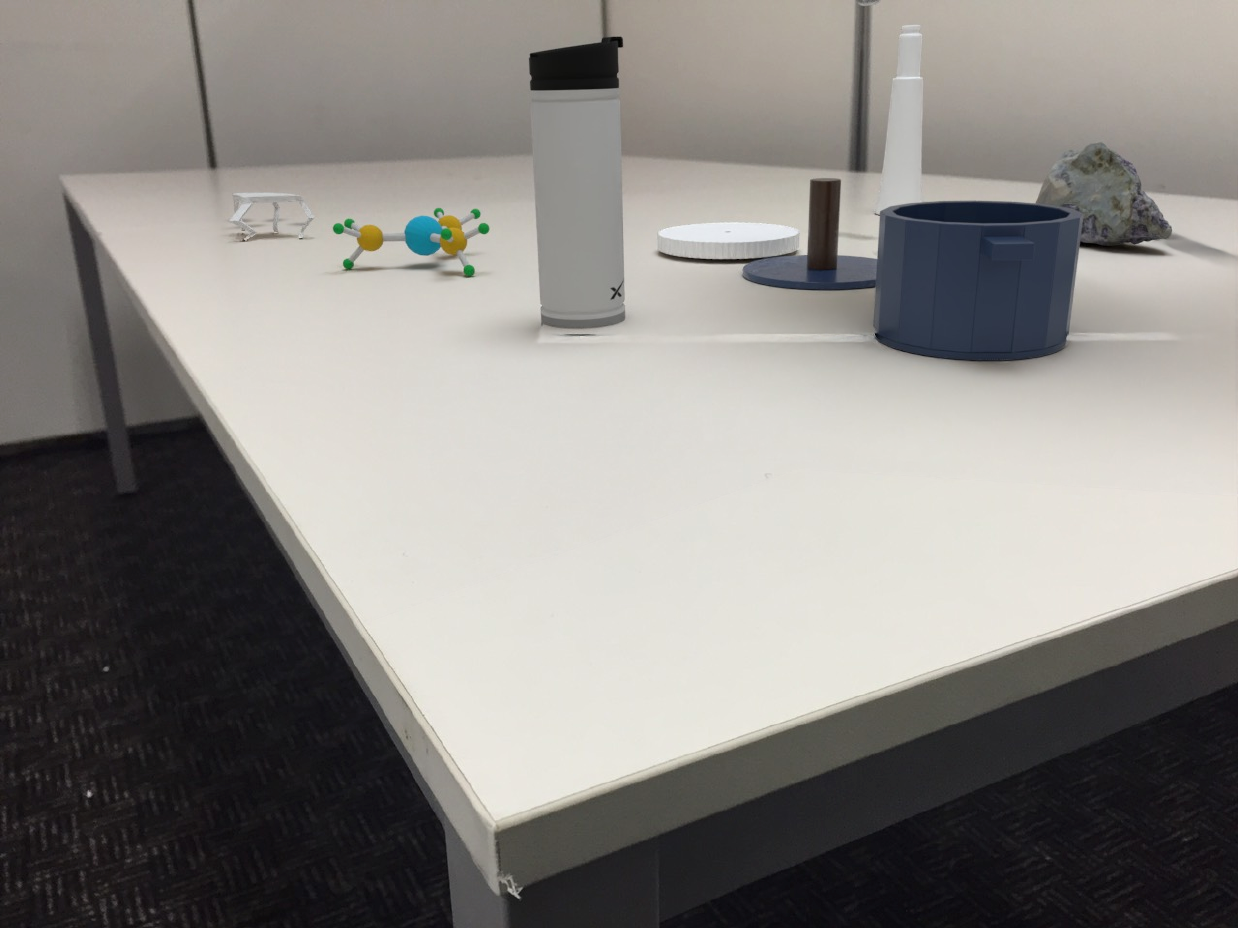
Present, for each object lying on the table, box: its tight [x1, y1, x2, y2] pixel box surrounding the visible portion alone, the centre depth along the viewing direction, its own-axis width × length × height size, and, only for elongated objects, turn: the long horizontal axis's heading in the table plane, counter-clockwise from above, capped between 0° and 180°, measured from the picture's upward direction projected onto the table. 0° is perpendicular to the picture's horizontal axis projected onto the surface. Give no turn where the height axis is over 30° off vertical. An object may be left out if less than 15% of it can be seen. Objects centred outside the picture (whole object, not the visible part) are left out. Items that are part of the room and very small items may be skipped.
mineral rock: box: [1035, 141, 1173, 247], centre depth 107 cm, size 13×11×10 cm
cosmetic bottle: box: [874, 24, 924, 216], centre depth 131 cm, size 6×6×22 cm
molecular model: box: [332, 207, 490, 277], centre depth 105 cm, size 16×5×15 cm
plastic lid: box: [656, 221, 800, 260], centre depth 107 cm, size 14×14×2 cm
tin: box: [872, 200, 1084, 361], centre depth 72 cm, size 13×18×8 cm
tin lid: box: [742, 177, 877, 291], centre depth 93 cm, size 14×14×9 cm
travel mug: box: [528, 36, 626, 336], centre depth 76 cm, size 6×7×20 cm
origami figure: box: [229, 192, 315, 239], centre depth 127 cm, size 12×8×5 cm
